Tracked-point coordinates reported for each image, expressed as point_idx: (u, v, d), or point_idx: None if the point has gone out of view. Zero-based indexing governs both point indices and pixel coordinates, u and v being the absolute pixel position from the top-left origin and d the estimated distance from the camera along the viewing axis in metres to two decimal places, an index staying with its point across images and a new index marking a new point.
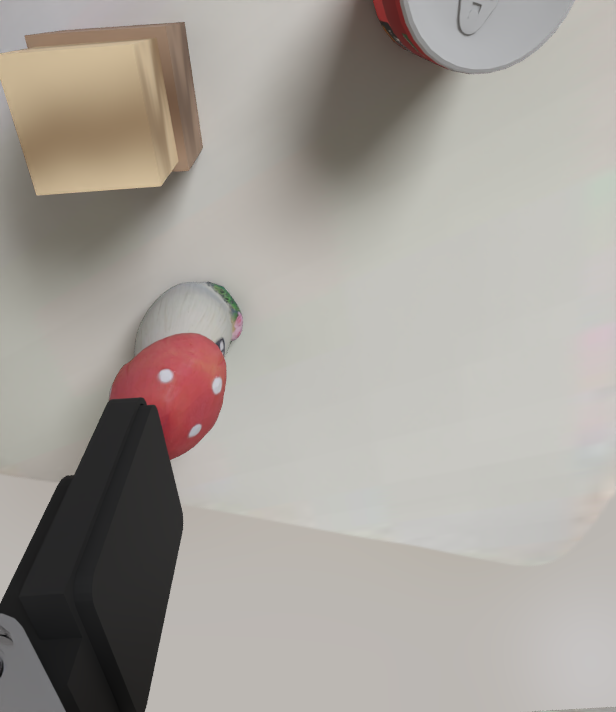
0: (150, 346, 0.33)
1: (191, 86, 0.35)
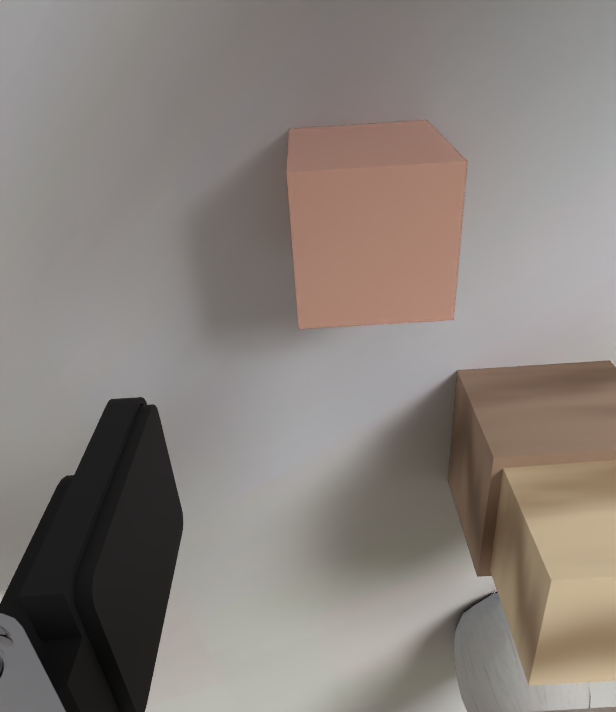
0: None
1: None
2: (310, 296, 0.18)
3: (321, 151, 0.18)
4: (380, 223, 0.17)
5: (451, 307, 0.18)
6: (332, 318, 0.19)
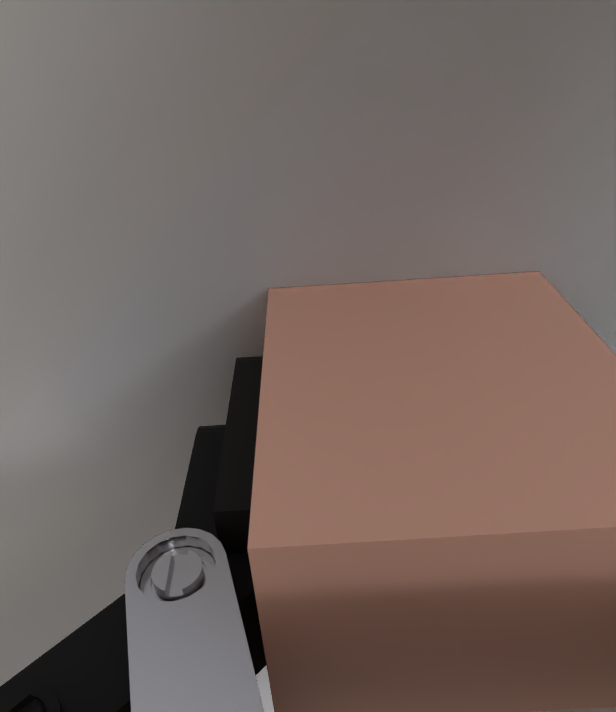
0: None
1: None
2: None
3: (339, 409, 0.07)
4: (498, 634, 0.06)
5: None
6: None
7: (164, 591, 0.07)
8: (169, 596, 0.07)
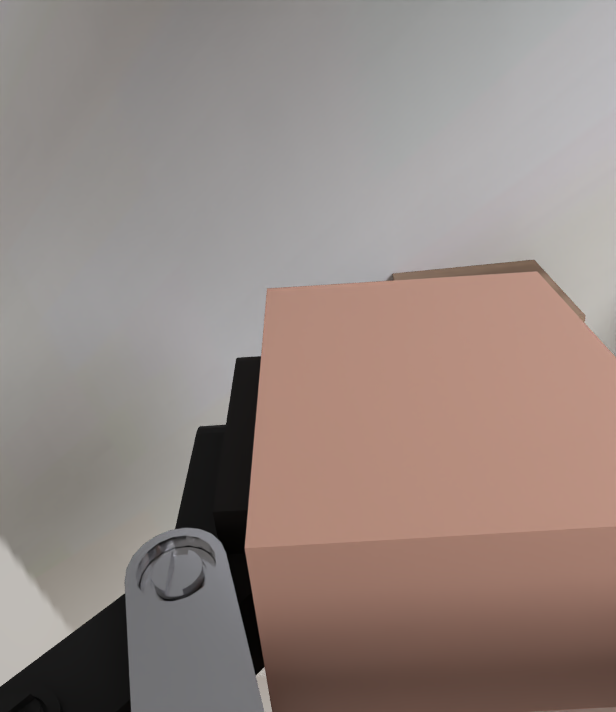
0: None
1: None
2: None
3: (337, 408, 0.07)
4: (494, 633, 0.06)
5: None
6: None
7: (164, 591, 0.07)
8: (169, 596, 0.07)
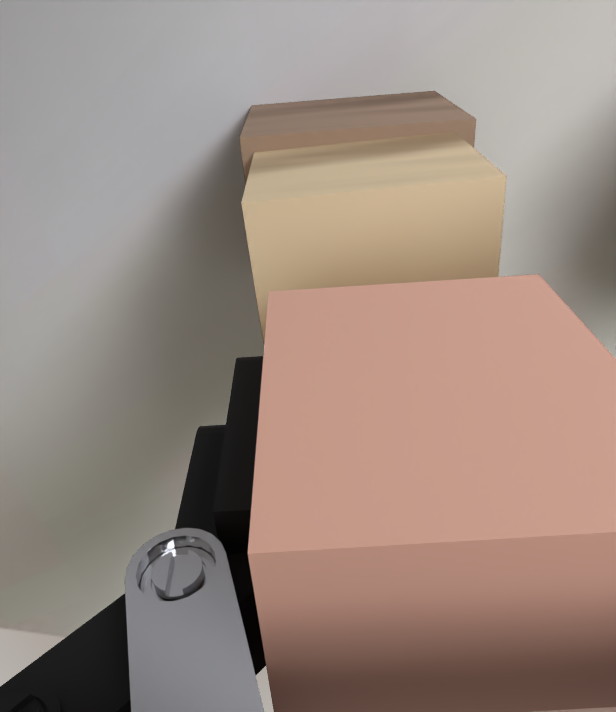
0: None
1: None
2: None
3: (339, 413, 0.07)
4: (498, 638, 0.06)
5: None
6: None
7: (164, 591, 0.07)
8: (169, 596, 0.07)
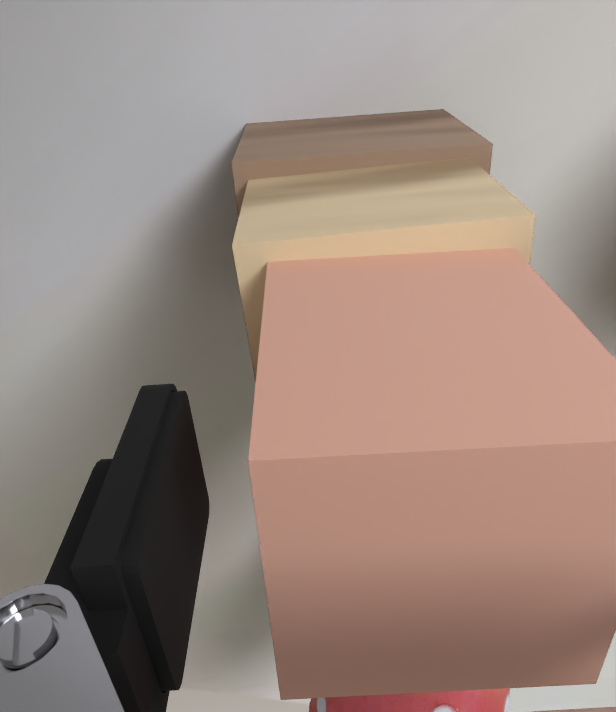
0: None
1: None
2: (306, 657, 0.09)
3: (329, 357, 0.08)
4: (464, 545, 0.07)
5: (595, 667, 0.09)
6: (350, 684, 0.09)
7: (12, 661, 0.06)
8: (19, 665, 0.06)
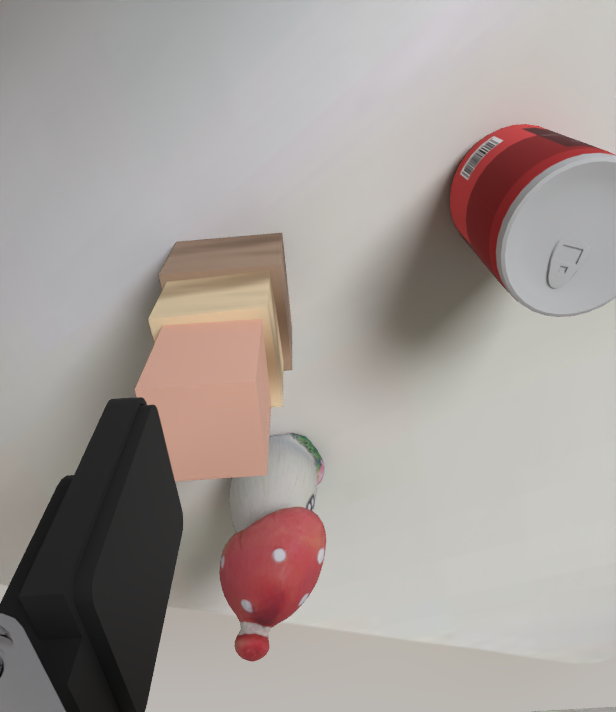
0: (260, 522, 0.37)
1: (286, 284, 0.39)
2: None
3: (169, 361, 0.26)
4: (203, 417, 0.25)
5: (263, 467, 0.26)
6: (180, 475, 0.26)
7: None
8: None
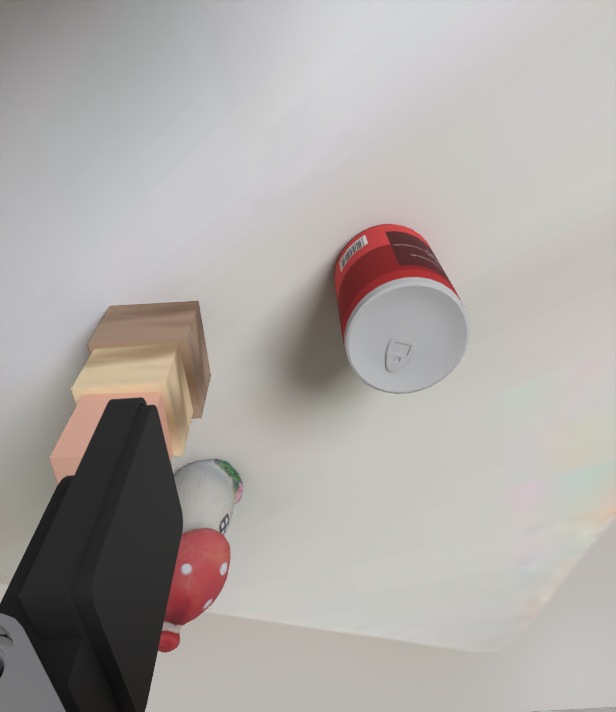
0: None
1: (203, 343, 0.47)
2: None
3: (80, 432, 0.34)
4: None
5: None
6: None
7: None
8: None
